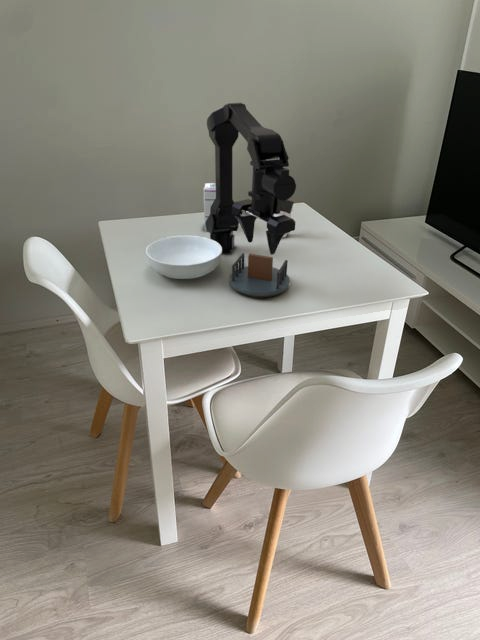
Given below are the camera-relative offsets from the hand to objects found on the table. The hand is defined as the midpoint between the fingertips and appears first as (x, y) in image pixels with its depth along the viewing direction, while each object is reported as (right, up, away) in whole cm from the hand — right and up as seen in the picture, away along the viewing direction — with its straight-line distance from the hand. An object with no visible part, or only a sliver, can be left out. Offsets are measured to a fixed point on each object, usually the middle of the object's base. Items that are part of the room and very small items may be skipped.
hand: (261, 247), depth 133 cm
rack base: (0, -9, +6) cm, 11 cm away
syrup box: (-14, +12, +41) cm, 45 cm away
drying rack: (0, -8, +5) cm, 10 cm away
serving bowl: (-21, -5, +12) cm, 25 cm away
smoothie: (+8, +9, +37) cm, 39 cm away
